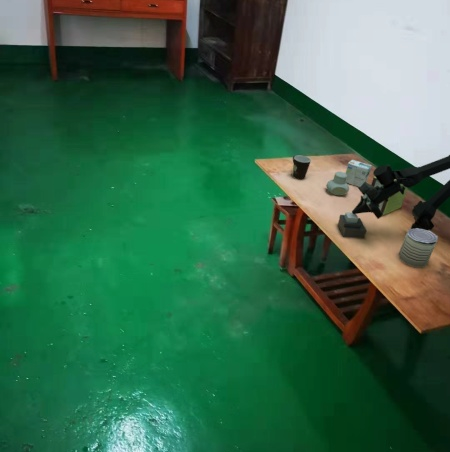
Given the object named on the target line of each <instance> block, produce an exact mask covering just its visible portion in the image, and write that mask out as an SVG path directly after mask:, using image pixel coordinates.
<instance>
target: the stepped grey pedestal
mask: <svg viewBox="0 0 450 452" xmlns="http://www.w3.org/2000/svg"><path fill="white" fill-rule="evenodd" d="M344 216H345V214H339V219H338V222H337V226H338V228H339V231H340V233H341V235H342V237H343V238H350V239H351V238H354V239H365V237H366V234H367V229H366V227H365V225H364V223H363V221H362V218H360V217H358V221H357V223H349V222H346V220H345V218H344Z"/></svg>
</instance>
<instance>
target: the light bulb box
mask: <svg viewBox="0 0 450 452" xmlns="http://www.w3.org/2000/svg"><path fill="white" fill-rule="evenodd" d="M371 168H372V165H371V164H368V163H364V162H363V161H362V162H361V161H358V160H356V159H351V160H350V161H349V162H347V166H346V170H345V172H344V173H345V174H346V175H347V178H346V183H347V184H348V185H349V184H350V185H351V186H355V187H357V188H359V187H361V185H362V184H363V183H364V182H367V183H368V179H369V176H370V173H371Z"/></svg>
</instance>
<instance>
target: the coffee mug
mask: <svg viewBox="0 0 450 452" xmlns="http://www.w3.org/2000/svg"><path fill="white" fill-rule="evenodd" d="M292 162H293V166H292V167H293V168H292V178H294V179H296V180H304V179H306V176H307V173H308V170H309V167H310V164H311V162H312V159H311V158H310V157H308V156H306V155H299V154H298V155H293V156H292Z"/></svg>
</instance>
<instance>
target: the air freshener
mask: <svg viewBox="0 0 450 452" xmlns="http://www.w3.org/2000/svg"><path fill="white" fill-rule="evenodd" d="M345 173H346V172H342V171H336V172H335V173H334V176H333V178H332V179H330V180H329V181H327V183H326V189H327V191H328V192H329V193H330V194H332V195H335V196H344V195H346V194H347V193H348V192H349V190H350V186H349V183H346V178H347V175H346V174H345Z"/></svg>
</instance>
